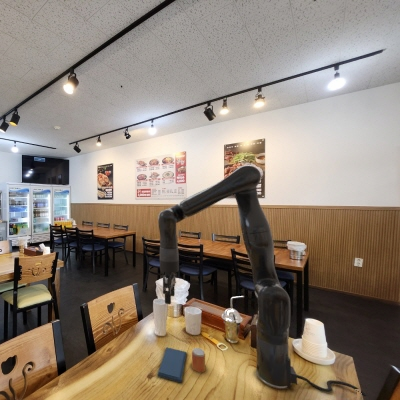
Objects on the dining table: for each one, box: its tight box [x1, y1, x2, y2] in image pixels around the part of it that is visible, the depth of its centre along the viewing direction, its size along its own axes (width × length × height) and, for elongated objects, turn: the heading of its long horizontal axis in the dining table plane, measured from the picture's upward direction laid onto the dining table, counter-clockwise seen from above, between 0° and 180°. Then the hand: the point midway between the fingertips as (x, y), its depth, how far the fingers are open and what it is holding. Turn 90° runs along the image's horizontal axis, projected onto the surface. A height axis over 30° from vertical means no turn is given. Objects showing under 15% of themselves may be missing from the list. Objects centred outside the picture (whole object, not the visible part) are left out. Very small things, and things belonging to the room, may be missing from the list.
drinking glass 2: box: [152, 298, 169, 337], centre depth 107 cm, size 7×7×15 cm
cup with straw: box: [221, 295, 245, 344], centre depth 102 cm, size 8×9×20 cm
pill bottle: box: [191, 347, 206, 373], centre depth 84 cm, size 5×5×6 cm
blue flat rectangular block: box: [157, 347, 187, 384], centre depth 86 cm, size 8×16×1 cm, turn 158°
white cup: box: [184, 306, 203, 336], centre depth 109 cm, size 8×8×10 cm
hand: (169, 299), depth 91 cm, fingers open, 8 cm apart
